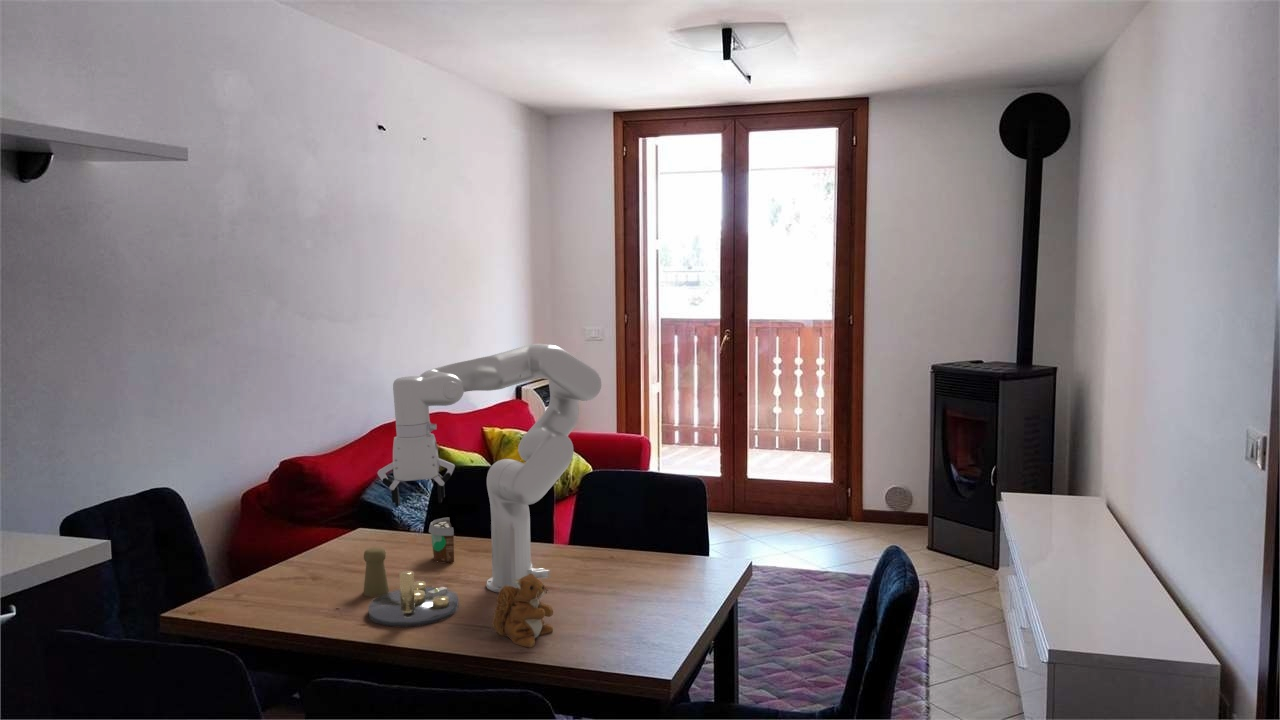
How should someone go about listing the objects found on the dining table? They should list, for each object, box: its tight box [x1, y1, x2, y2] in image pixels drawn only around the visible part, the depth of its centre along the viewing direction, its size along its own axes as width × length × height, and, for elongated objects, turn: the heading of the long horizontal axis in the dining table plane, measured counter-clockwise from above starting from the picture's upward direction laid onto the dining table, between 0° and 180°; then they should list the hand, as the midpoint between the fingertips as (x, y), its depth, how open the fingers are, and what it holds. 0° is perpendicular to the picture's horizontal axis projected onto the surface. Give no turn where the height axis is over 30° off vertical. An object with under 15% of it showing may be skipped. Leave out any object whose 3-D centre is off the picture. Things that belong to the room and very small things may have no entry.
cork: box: [363, 546, 390, 598], centre depth 216 cm, size 6×6×11 cm
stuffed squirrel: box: [491, 573, 554, 649], centre depth 188 cm, size 10×14×13 cm
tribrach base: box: [368, 580, 459, 628], centre depth 204 cm, size 20×20×4 cm
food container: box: [428, 517, 455, 564], centre depth 242 cm, size 12×6×10 cm, turn 17°
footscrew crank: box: [399, 570, 425, 613], centre depth 200 cm, size 12×5×9 cm, turn 5°
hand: (419, 503), depth 204 cm, fingers open, 9 cm apart
